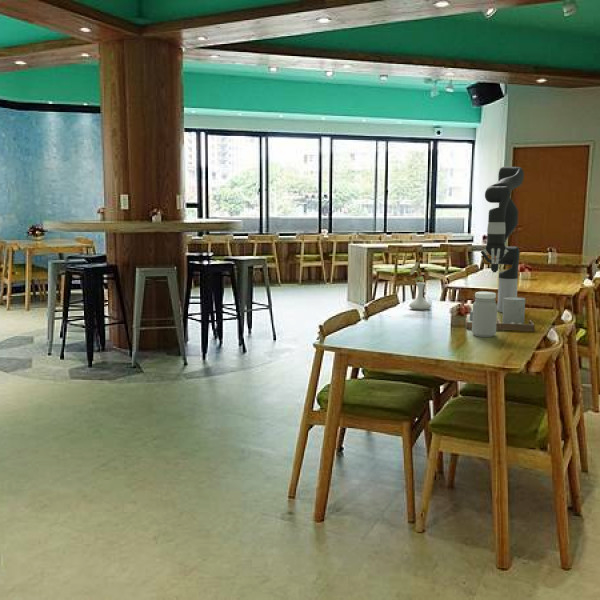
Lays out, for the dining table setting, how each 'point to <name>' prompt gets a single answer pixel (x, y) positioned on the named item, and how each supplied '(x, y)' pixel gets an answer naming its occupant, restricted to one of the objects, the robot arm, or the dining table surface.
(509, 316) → the speckled white canister
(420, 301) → the flower in vase
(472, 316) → the block slate
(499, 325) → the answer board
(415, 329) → the dining table surface
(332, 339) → the dining table surface
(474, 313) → the jar
